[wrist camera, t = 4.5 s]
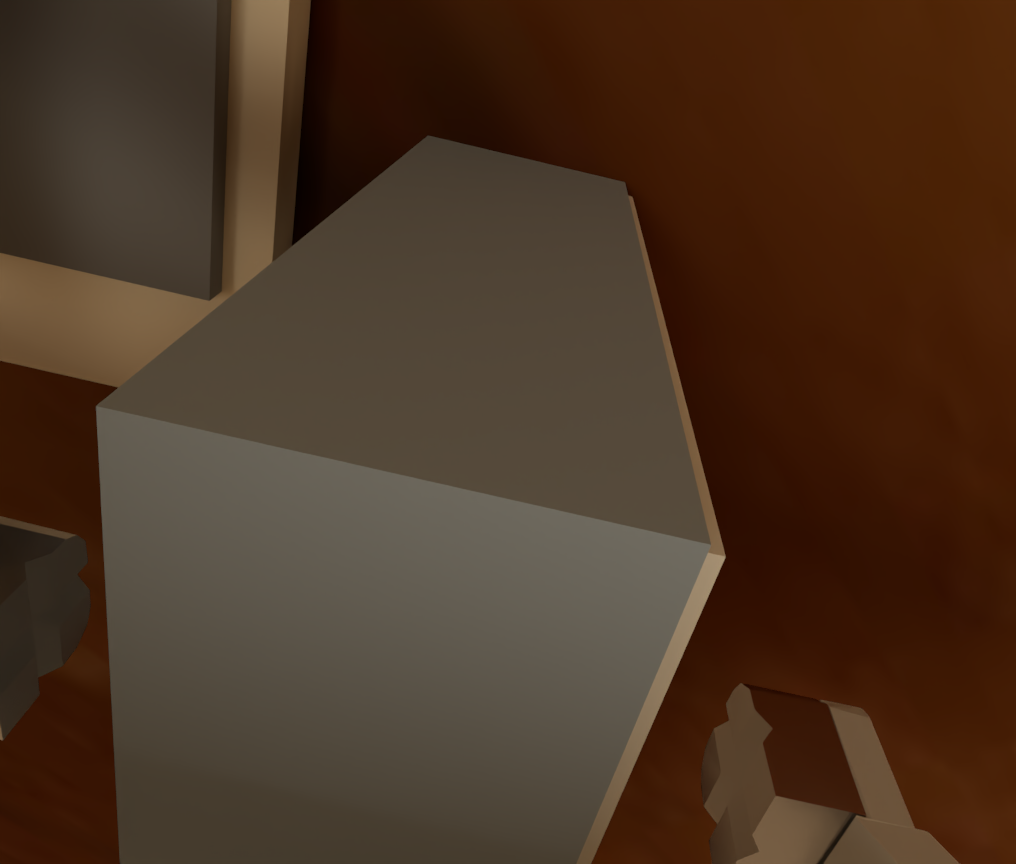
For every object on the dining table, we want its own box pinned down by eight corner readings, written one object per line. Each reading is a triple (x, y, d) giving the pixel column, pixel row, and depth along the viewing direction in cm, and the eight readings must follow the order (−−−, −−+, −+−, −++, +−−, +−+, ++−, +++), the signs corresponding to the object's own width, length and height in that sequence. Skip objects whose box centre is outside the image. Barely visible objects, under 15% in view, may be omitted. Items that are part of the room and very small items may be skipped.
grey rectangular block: (534, 540, 20) (477, 1138, 9) (371, 504, 20) (130, 1067, 9) (634, 184, 16) (741, 551, 5) (428, 135, 15) (94, 404, 5)
